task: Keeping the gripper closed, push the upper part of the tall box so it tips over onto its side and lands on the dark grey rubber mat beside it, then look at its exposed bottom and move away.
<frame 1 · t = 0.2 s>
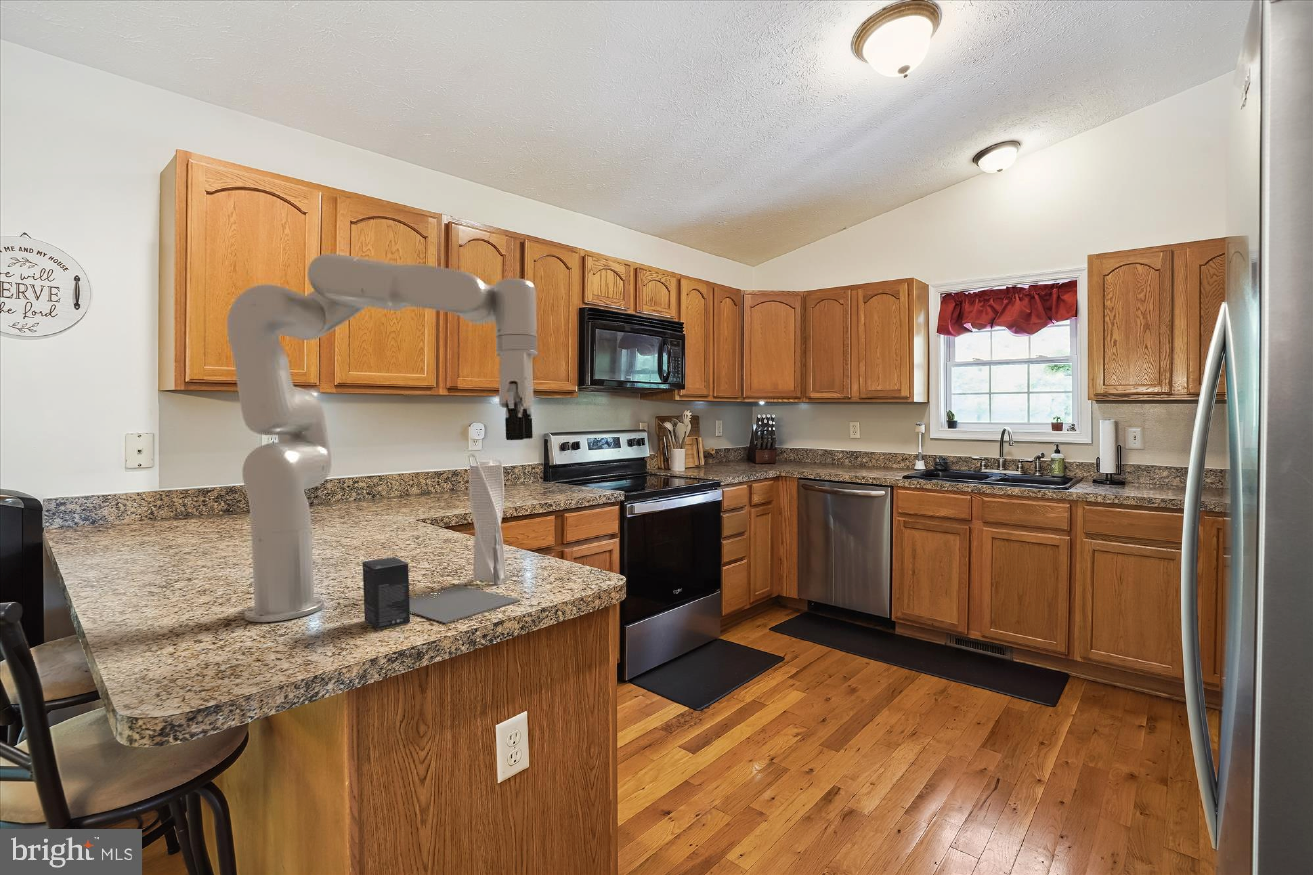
hand: (519, 439, 114), 31 cm above the counter, tool pointing down, fingers open, 9 cm apart
mat: (453, 603, 117), on the counter
box: (387, 623, 107), on the counter
skyscraper: (489, 582, 134), on the counter
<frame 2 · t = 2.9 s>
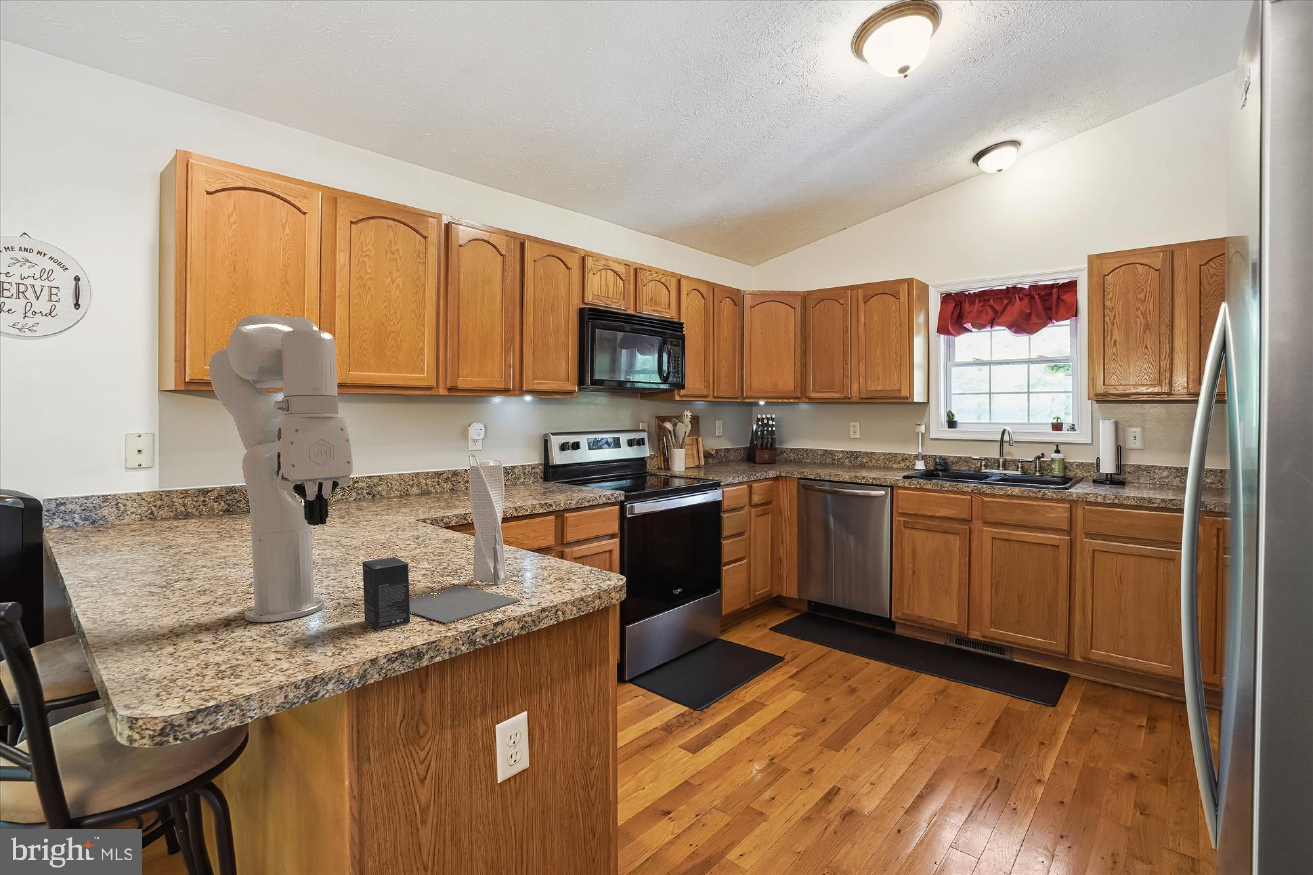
hand: (316, 523, 97), 19 cm above the counter, tool pointing down, fingers closed
nothing on the counter moved.
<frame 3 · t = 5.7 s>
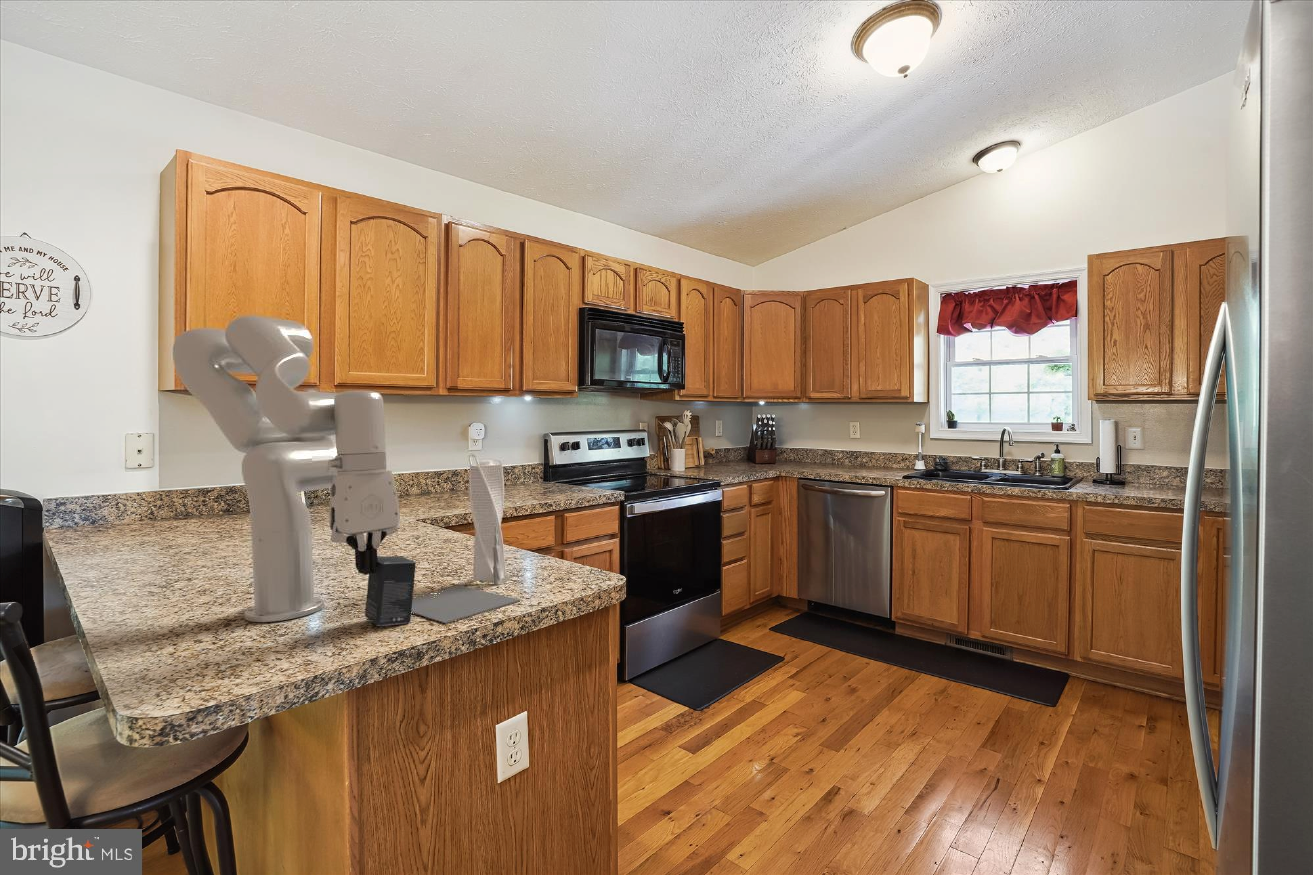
hand: (367, 572, 104), 9 cm above the counter, tool pointing down, fingers closed
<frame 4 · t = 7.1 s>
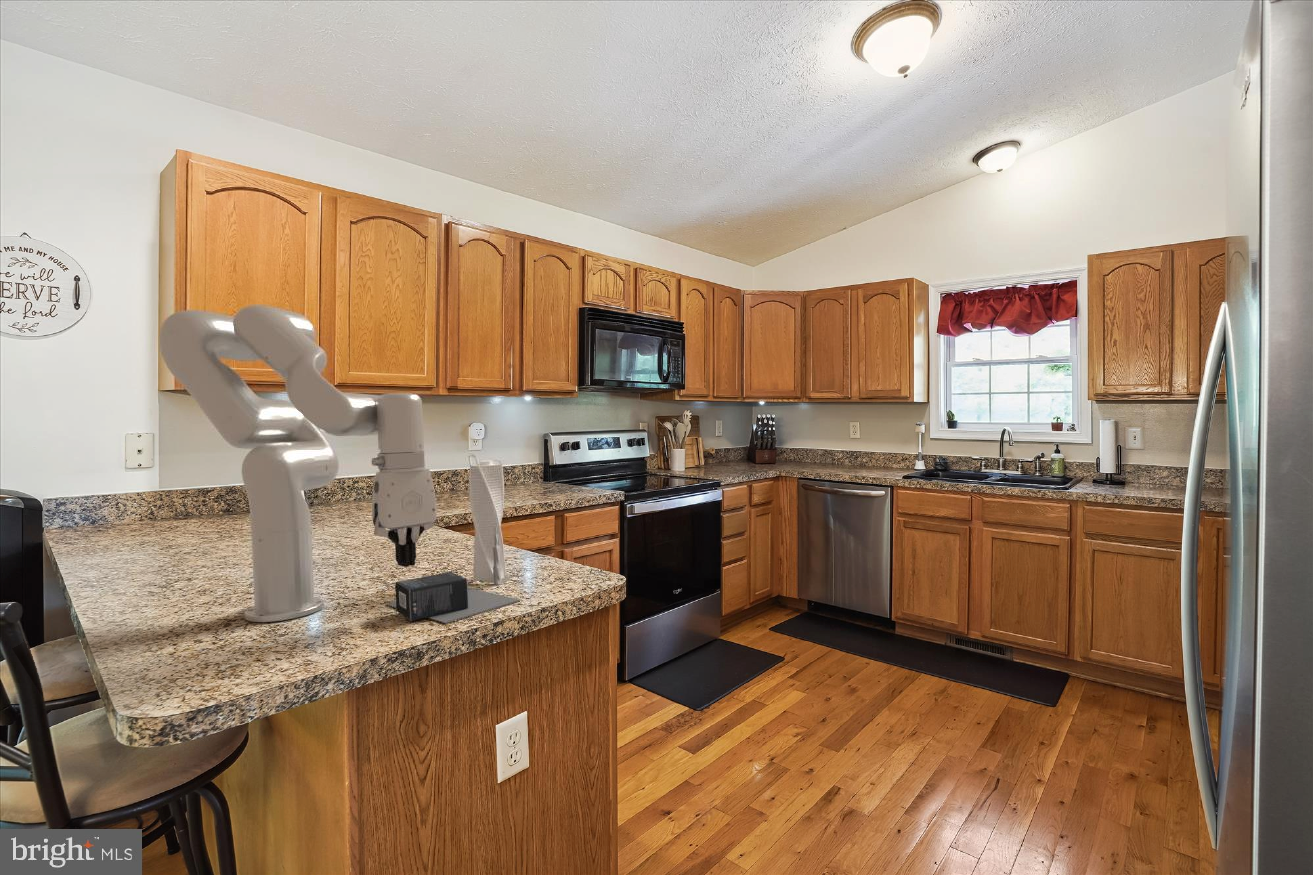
hand: (406, 565, 109), 9 cm above the counter, tool pointing down, fingers closed
box: (400, 601, 108), point 3 cm above the counter, touching mat
everything else where it was.
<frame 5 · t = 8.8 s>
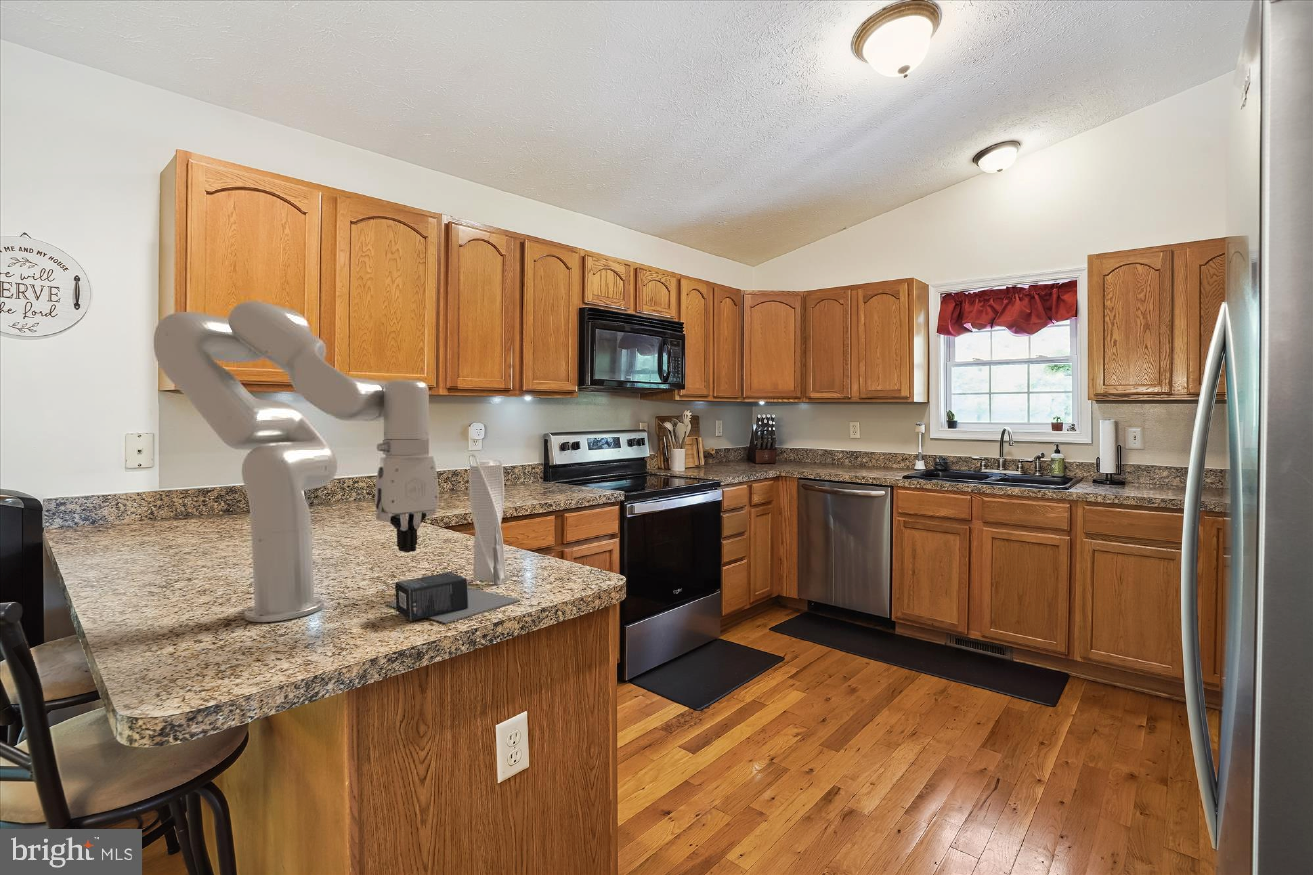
hand: (407, 550, 110), 12 cm above the counter, tool pointing down, fingers closed
nothing on the counter moved.
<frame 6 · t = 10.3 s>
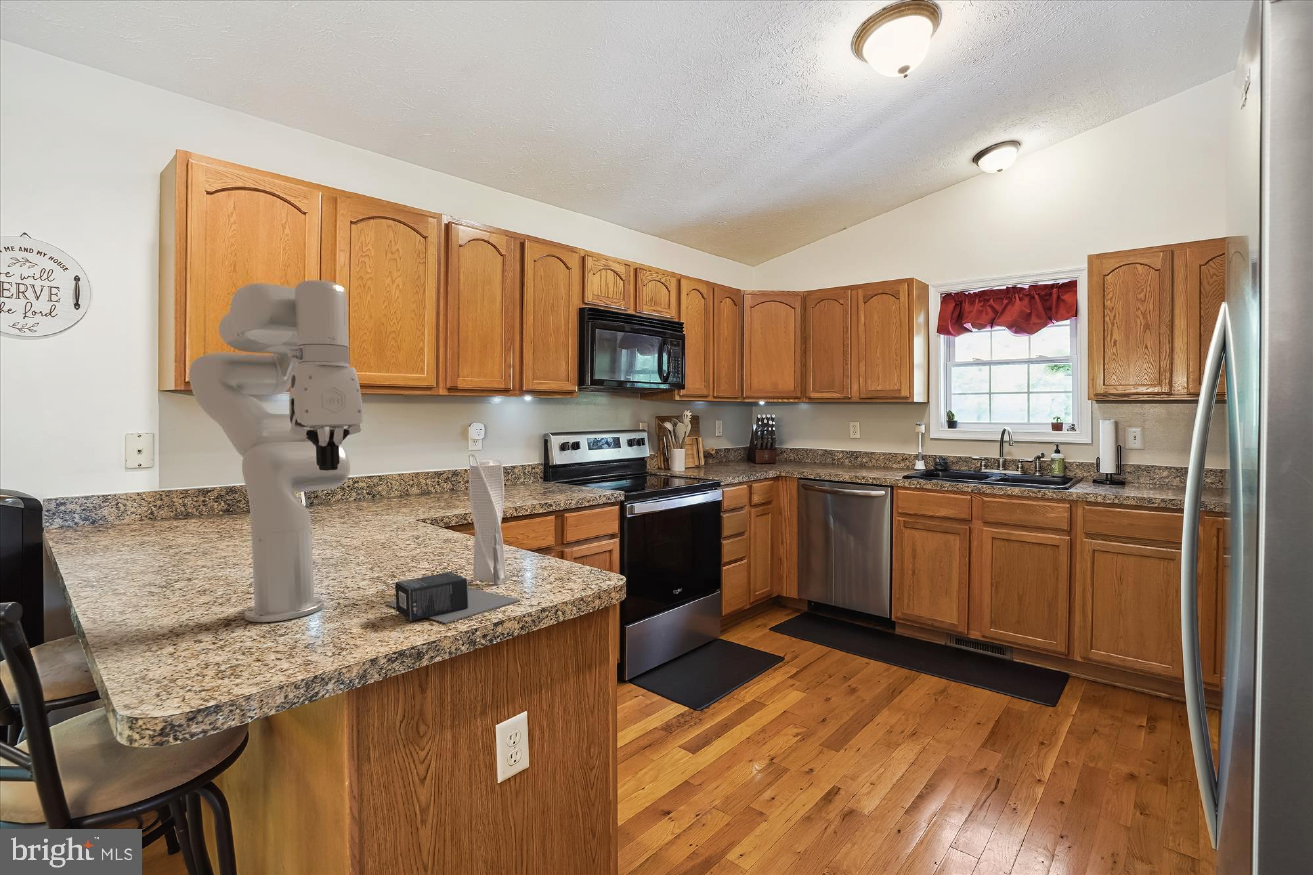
hand: (328, 469, 101), 27 cm above the counter, tool pointing down, fingers closed
nothing on the counter moved.
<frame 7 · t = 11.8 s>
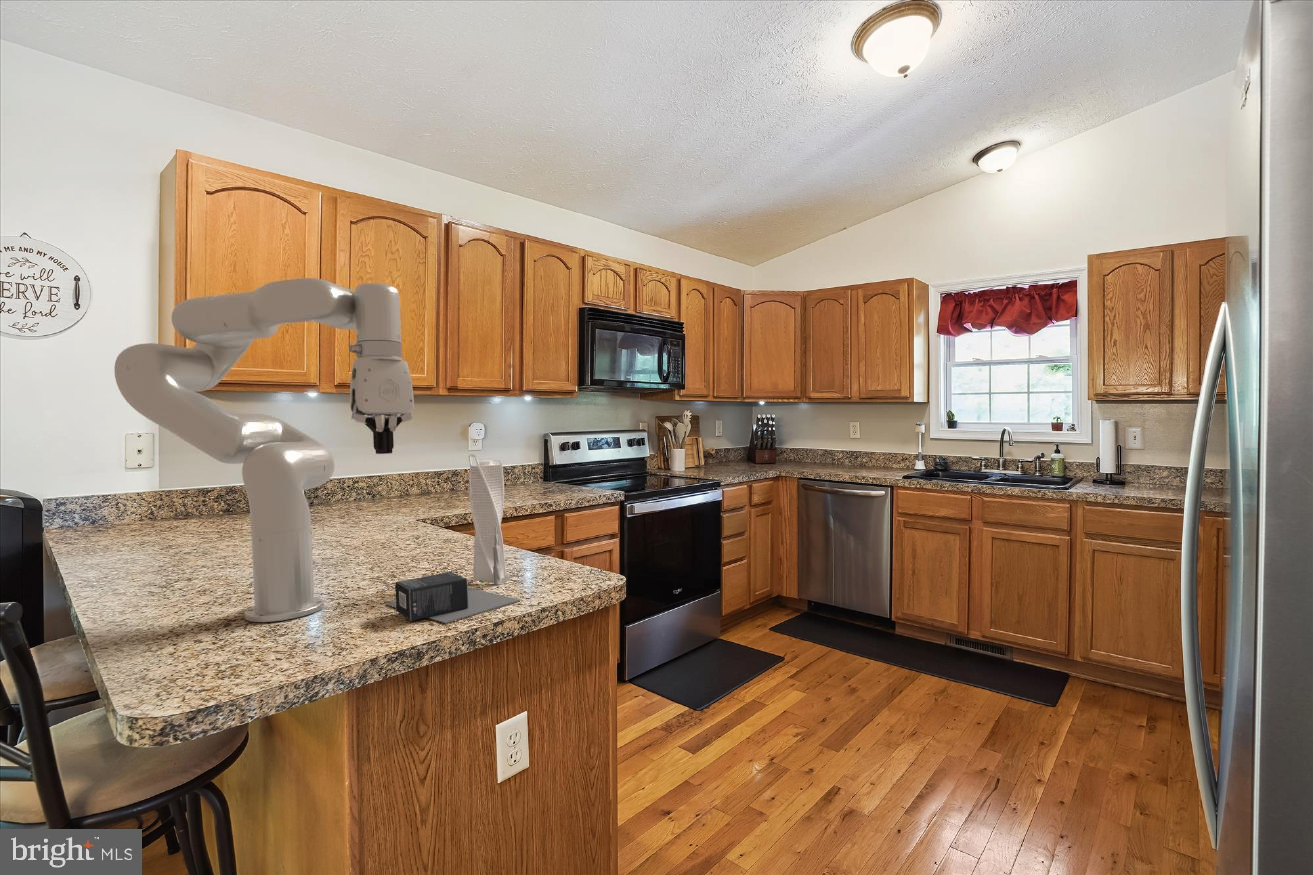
hand: (384, 453, 112), 29 cm above the counter, tool pointing down, fingers closed
nothing on the counter moved.
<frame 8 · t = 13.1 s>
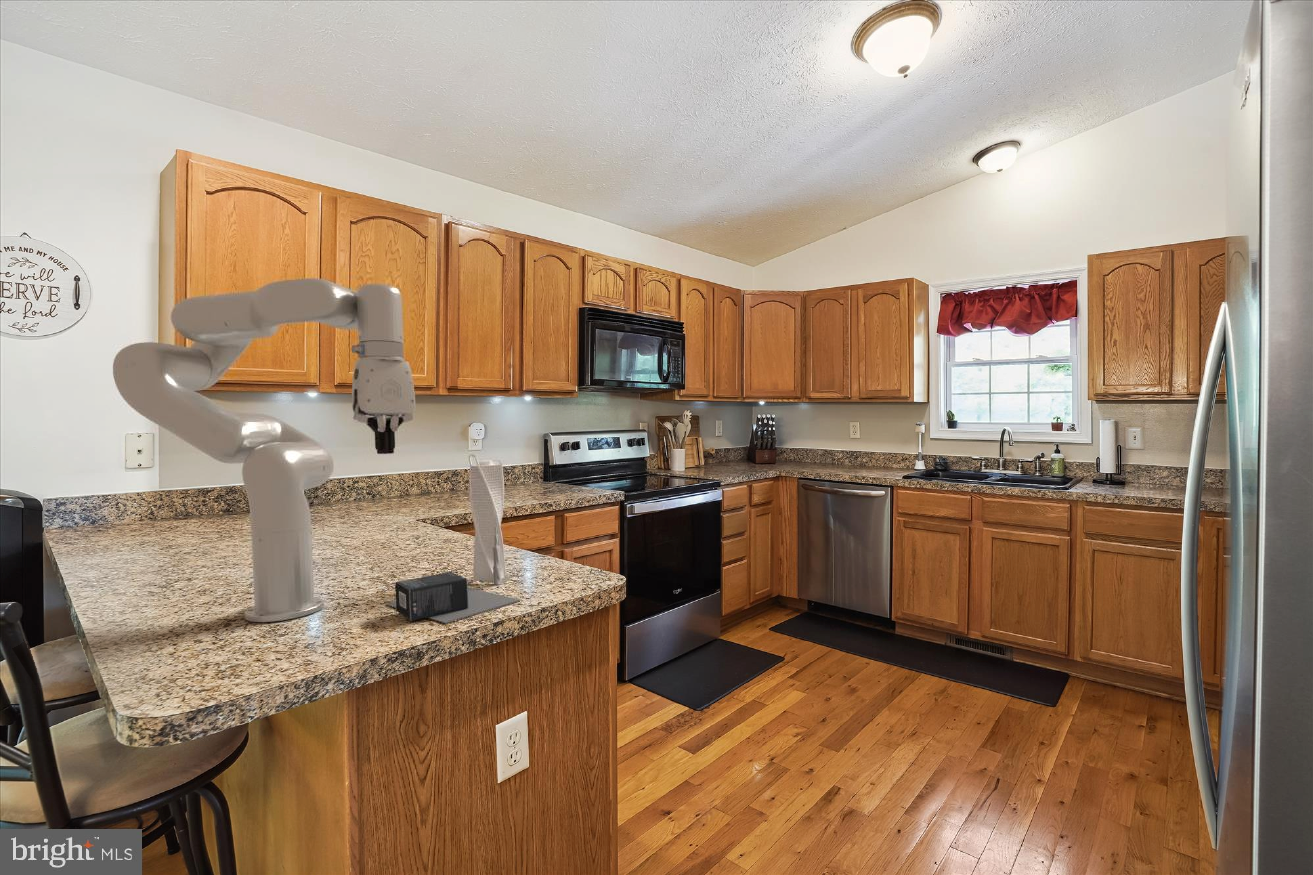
hand: (385, 453, 113), 29 cm above the counter, tool pointing down, fingers closed
nothing on the counter moved.
at the end: box tilted 89°; box touching mat; box inside the target area (8.6 cm from its centre), point 3.0 cm above the counter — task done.
